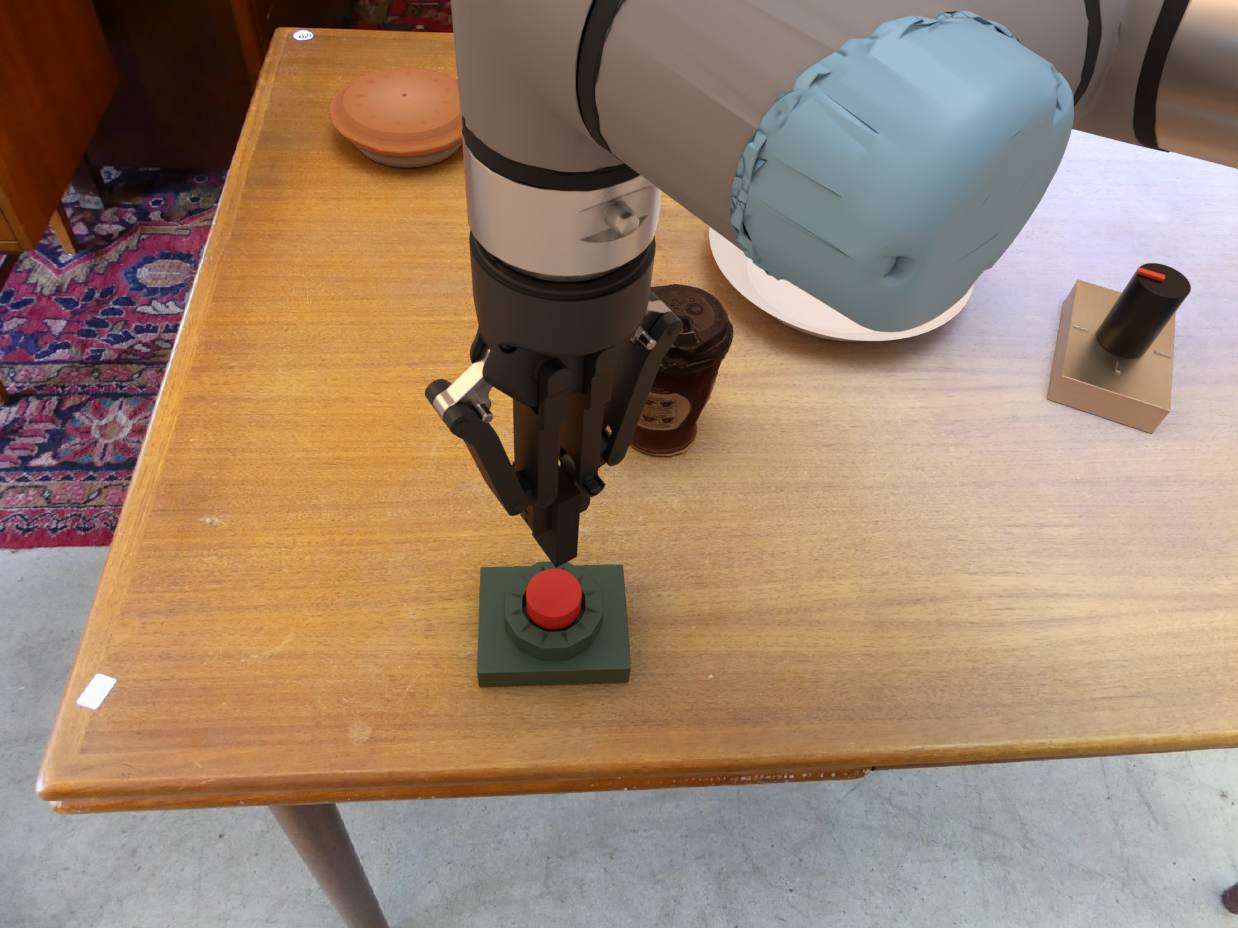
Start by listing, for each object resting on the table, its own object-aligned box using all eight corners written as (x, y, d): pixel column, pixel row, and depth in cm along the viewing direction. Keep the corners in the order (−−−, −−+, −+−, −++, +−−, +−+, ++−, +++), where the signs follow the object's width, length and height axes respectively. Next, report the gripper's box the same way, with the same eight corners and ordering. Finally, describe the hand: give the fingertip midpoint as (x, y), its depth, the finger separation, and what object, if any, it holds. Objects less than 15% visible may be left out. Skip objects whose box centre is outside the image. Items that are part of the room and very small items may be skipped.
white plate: (997, 263, 92) (1011, 234, 89) (898, 412, 78) (912, 384, 76) (778, 168, 99) (785, 139, 97) (654, 289, 86) (658, 259, 83)
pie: (352, 93, 103) (345, 50, 99) (490, 105, 103) (489, 62, 99) (319, 174, 93) (309, 130, 89) (471, 187, 94) (469, 144, 90)
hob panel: (1151, 433, 79) (1171, 409, 77) (1046, 399, 81) (1062, 374, 78) (1158, 332, 87) (1177, 307, 85) (1063, 302, 89) (1078, 277, 86)
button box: (620, 579, 66) (625, 550, 63) (628, 682, 62) (633, 656, 58) (481, 582, 66) (479, 552, 62) (478, 687, 61) (475, 660, 58)
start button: (579, 581, 62) (580, 567, 61) (582, 629, 60) (583, 616, 58) (526, 582, 62) (526, 568, 60) (526, 630, 59) (526, 617, 58)
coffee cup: (675, 488, 72) (698, 373, 62) (586, 441, 74) (594, 323, 64) (726, 419, 77) (755, 302, 66) (641, 377, 79) (657, 258, 69)
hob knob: (1148, 333, 82) (1194, 270, 77) (1145, 364, 80) (1192, 301, 74) (1098, 317, 83) (1140, 253, 78) (1094, 347, 81) (1136, 284, 75)
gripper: (463, 343, 32) (490, 647, 51) (748, 228, 37) (677, 542, 56) (370, 224, 36) (427, 549, 54) (642, 134, 41) (609, 459, 59)
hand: (554, 545), depth 55 cm, fingers closed
